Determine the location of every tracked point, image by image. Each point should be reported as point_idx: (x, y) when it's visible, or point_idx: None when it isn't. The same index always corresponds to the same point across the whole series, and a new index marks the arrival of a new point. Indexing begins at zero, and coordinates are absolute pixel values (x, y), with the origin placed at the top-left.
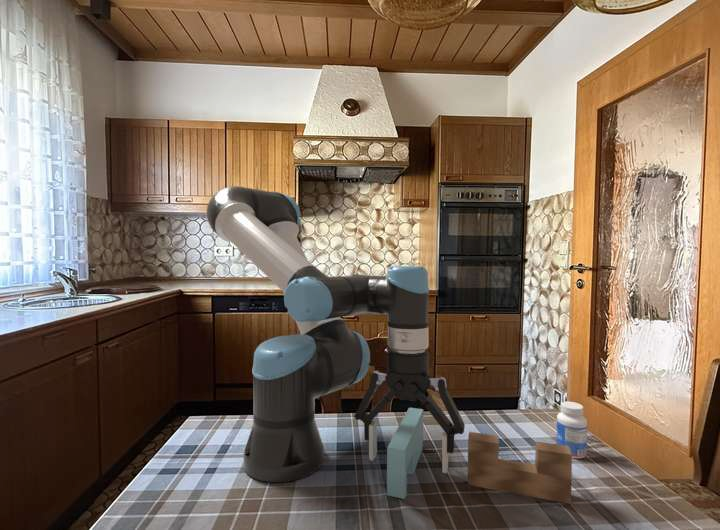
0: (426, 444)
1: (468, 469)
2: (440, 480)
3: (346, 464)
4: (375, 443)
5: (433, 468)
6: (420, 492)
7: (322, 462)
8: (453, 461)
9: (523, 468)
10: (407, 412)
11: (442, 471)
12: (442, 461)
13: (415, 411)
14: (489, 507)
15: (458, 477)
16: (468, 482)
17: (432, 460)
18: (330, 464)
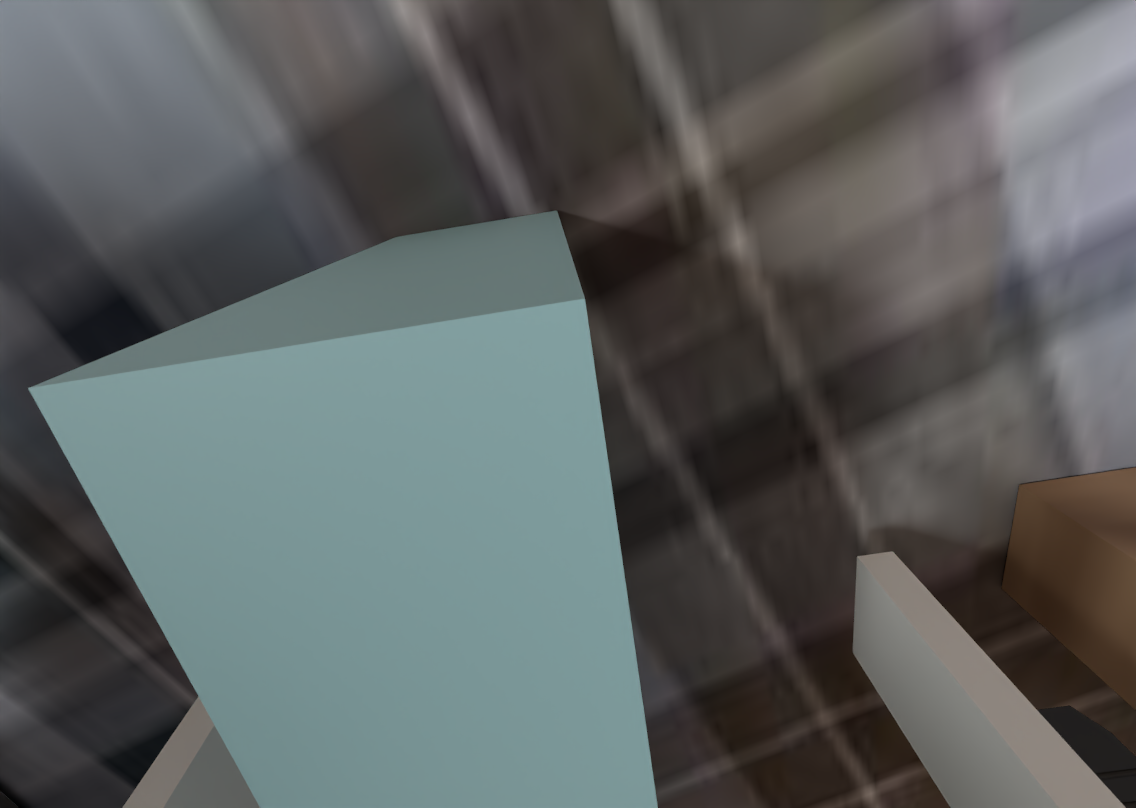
0: (568, 101)
1: (1104, 673)
2: (814, 619)
3: (150, 732)
4: (223, 779)
5: (742, 512)
6: (716, 759)
7: (7, 797)
8: (898, 331)
9: None
10: (249, 723)
11: (859, 661)
12: (904, 732)
13: (412, 580)
14: (1104, 712)
15: (939, 536)
16: (1019, 598)
17: (710, 404)
18: (64, 773)
